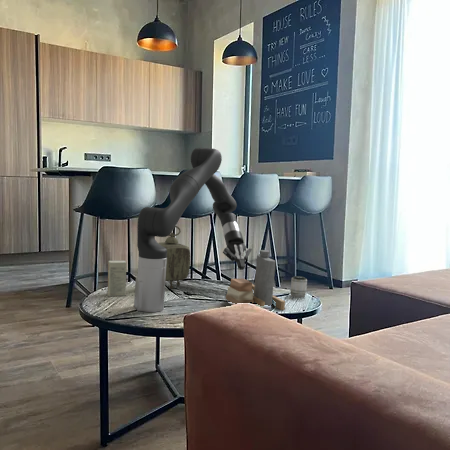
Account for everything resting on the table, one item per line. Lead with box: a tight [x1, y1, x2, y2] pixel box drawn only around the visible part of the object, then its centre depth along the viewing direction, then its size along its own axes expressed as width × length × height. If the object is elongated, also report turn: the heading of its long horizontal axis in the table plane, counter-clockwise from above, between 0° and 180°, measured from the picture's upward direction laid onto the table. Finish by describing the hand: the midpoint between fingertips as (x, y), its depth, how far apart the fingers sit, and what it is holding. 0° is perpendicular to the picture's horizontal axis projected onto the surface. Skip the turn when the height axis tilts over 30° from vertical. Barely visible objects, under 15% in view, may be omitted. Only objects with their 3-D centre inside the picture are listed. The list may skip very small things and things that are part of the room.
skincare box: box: [107, 260, 127, 297], centre depth 162 cm, size 6×4×12 cm
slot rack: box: [229, 283, 286, 311], centre depth 170 cm, size 10×28×3 cm, turn 22°
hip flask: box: [253, 249, 276, 306], centre depth 163 cm, size 16×4×20 cm, turn 11°
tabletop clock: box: [157, 225, 191, 290], centre depth 177 cm, size 14×9×25 cm, turn 122°
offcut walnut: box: [225, 293, 254, 304], centre depth 162 cm, size 7×9×3 cm
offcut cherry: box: [230, 278, 253, 292], centre depth 162 cm, size 5×7×3 cm
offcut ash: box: [226, 286, 254, 301], centre depth 162 cm, size 6×8×3 cm
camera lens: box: [290, 275, 308, 299], centre depth 181 cm, size 6×6×8 cm
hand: (242, 268), depth 182 cm, fingers closed
